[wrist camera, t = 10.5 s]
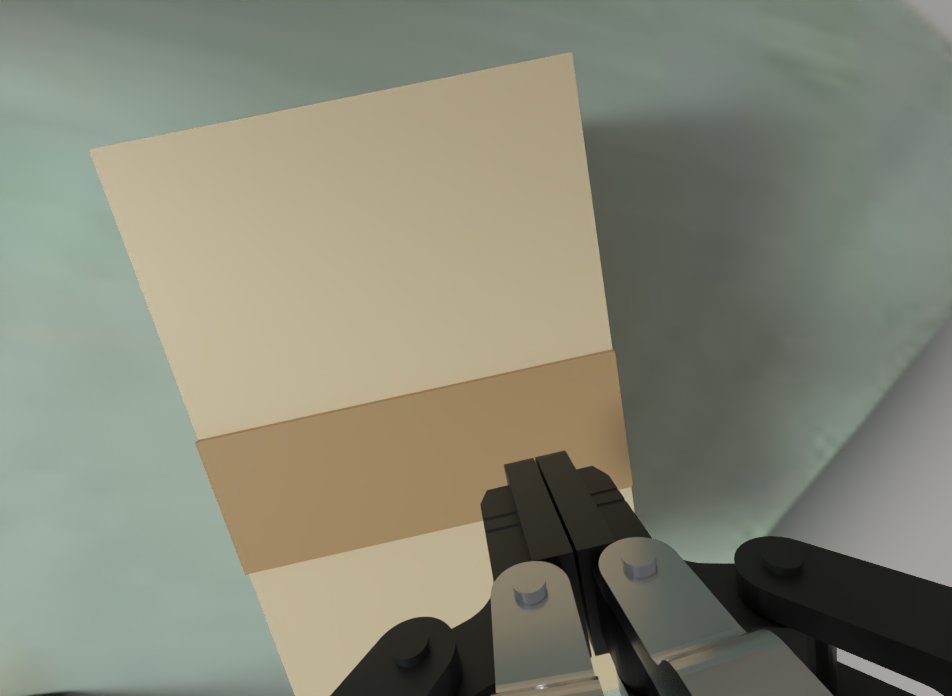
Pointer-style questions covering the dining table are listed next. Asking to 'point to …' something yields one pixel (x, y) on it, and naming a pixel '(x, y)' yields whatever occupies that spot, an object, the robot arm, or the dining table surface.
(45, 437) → the dining table surface
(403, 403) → the lid
